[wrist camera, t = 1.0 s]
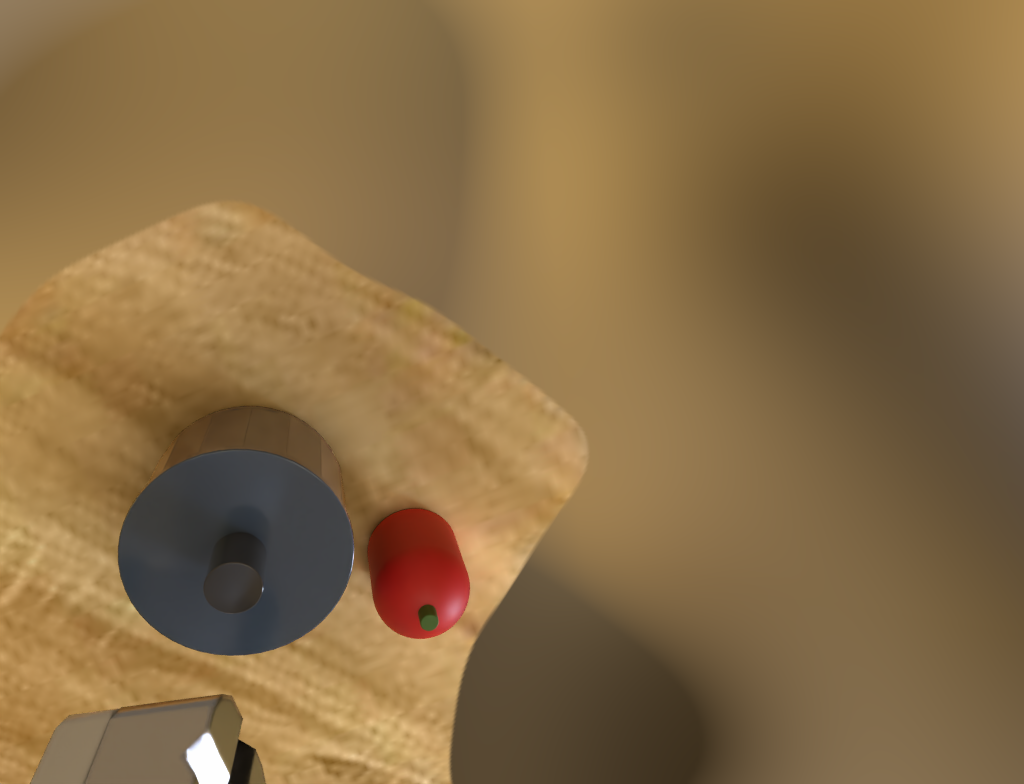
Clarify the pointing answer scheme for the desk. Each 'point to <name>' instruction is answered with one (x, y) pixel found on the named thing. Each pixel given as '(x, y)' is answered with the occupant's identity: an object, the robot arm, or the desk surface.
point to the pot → (257, 439)
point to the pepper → (417, 574)
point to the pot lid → (236, 550)
